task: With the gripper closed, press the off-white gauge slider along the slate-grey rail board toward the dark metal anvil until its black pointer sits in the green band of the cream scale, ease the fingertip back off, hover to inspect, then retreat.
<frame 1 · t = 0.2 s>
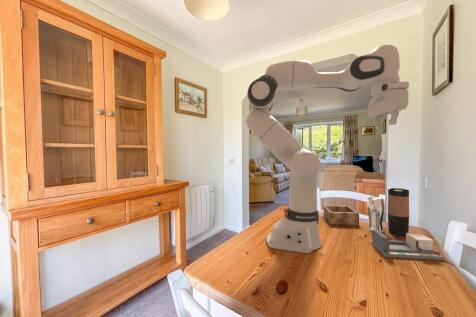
hand: (385, 126, 78), 47 cm above the table, fingers open, 8 cm apart
travel mug: (398, 233, 93), on the table
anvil: (380, 249, 78), resting on gauge board
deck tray: (339, 219, 112), on the table
gauge board: (403, 251, 76), on the table
gauge slider: (420, 243, 74), point 4 cm above the table, slide at 0.0 cm
beer glass: (375, 230, 97), on the table
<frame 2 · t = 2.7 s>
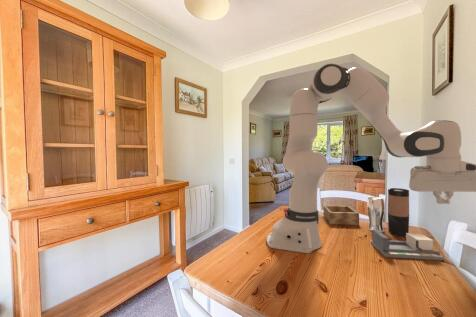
hand: (442, 203, 74), 18 cm above the table, fingers closed
nothing on the table moved.
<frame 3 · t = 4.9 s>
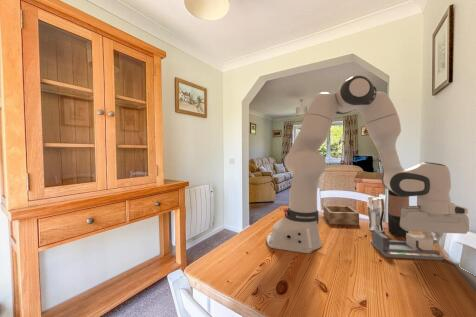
hand: (432, 243, 75), 3 cm above the table, fingers closed
gauge slider: (420, 243, 74), point 4 cm above the table, slide at 0.0 cm, touching gripper
everything else where it was.
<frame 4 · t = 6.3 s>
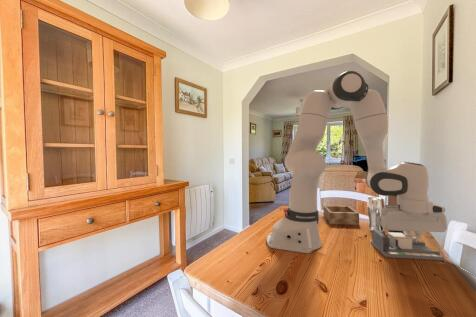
hand: (411, 242, 76), 4 cm above the table, fingers closed
gauge slider: (400, 242, 75), point 4 cm above the table, slide at 6.6 cm, touching gripper
everything else where it was.
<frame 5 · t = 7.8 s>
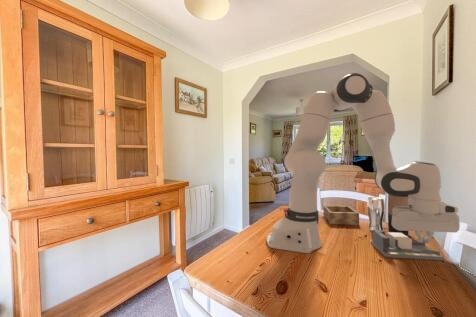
hand: (423, 242, 75), 4 cm above the table, fingers closed
gauge slider: (400, 242, 75), point 4 cm above the table, slide at 6.7 cm
everything else where it was.
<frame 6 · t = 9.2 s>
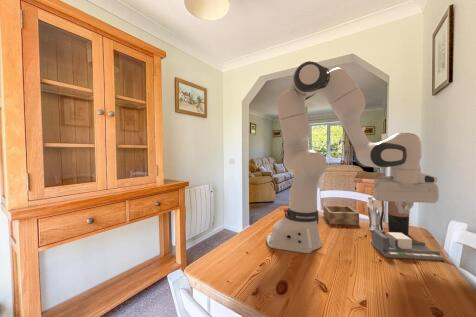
hand: (403, 213, 76), 14 cm above the table, fingers closed
nothing on the table moved.
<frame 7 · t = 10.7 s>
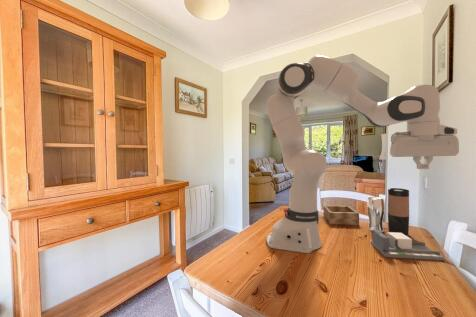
hand: (422, 168, 74), 31 cm above the table, fingers closed
nothing on the table moved.
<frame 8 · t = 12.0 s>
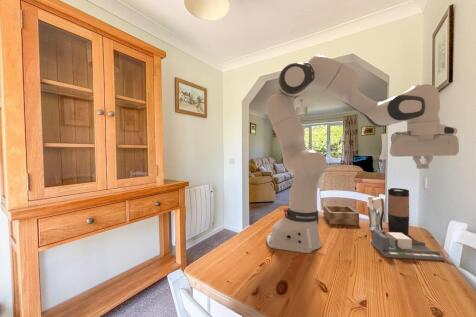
hand: (422, 168, 74), 31 cm above the table, fingers closed
nothing on the table moved.
at the end: gauge slider slide at 6.7 cm; gauge slider touching nothing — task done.
